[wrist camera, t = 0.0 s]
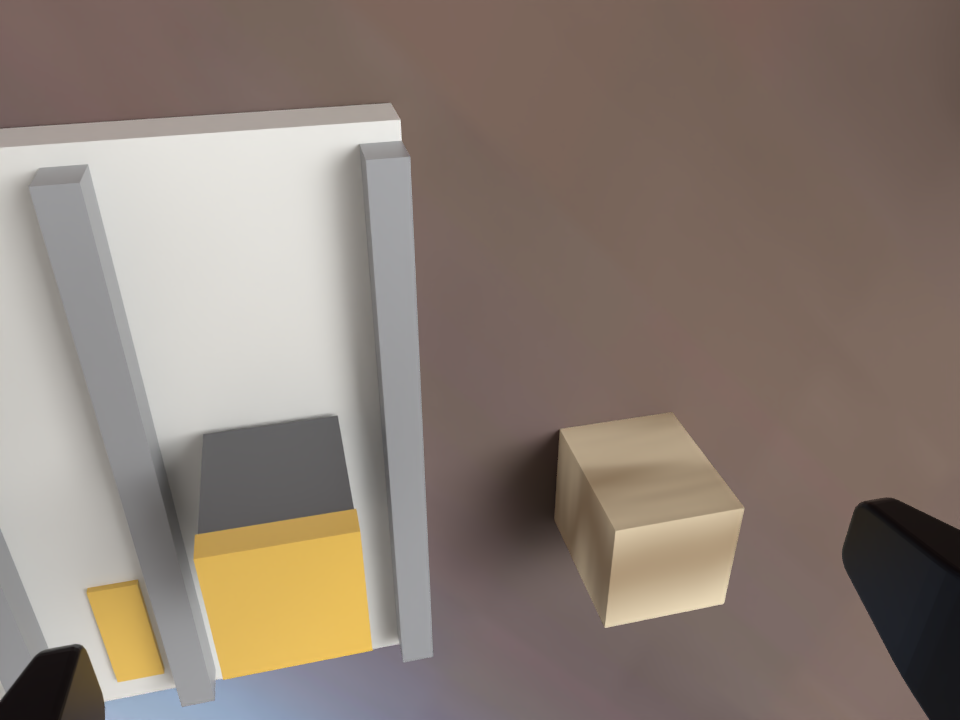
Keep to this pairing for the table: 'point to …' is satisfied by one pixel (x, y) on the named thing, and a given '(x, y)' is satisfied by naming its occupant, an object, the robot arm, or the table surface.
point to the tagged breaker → (280, 548)
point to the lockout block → (645, 518)
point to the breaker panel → (196, 367)
